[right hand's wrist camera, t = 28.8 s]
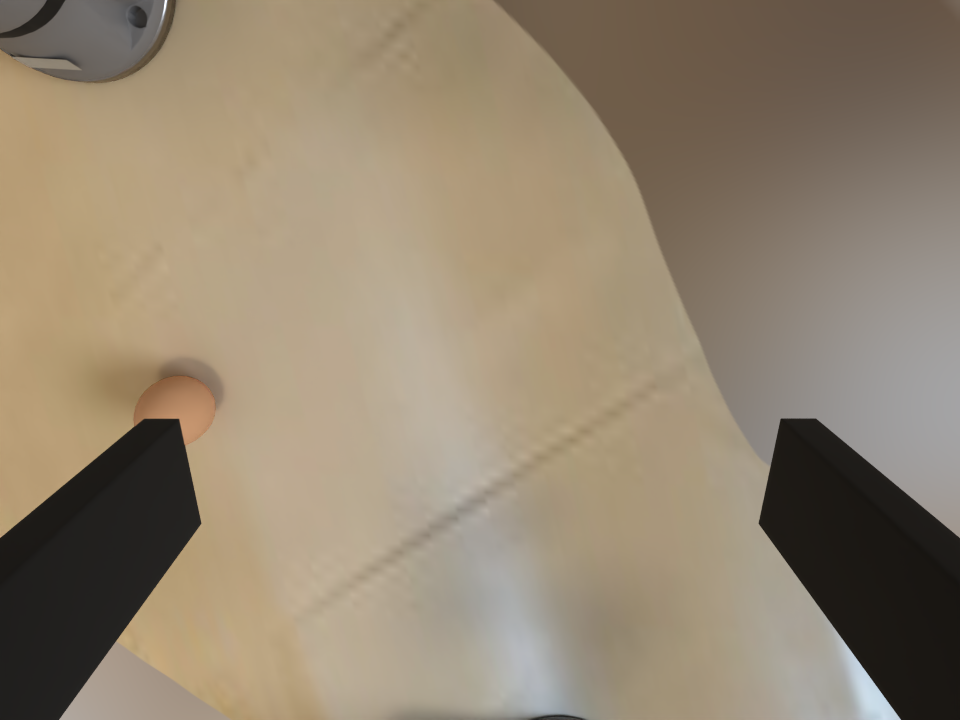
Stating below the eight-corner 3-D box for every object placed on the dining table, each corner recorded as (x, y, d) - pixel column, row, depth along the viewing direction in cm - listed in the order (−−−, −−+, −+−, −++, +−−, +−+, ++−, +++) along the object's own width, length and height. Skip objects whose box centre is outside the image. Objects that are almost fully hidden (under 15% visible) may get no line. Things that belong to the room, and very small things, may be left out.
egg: (203, 354, 53) (158, 389, 45) (240, 407, 54) (203, 449, 47) (150, 380, 53) (97, 418, 46) (188, 431, 55) (143, 476, 48)
